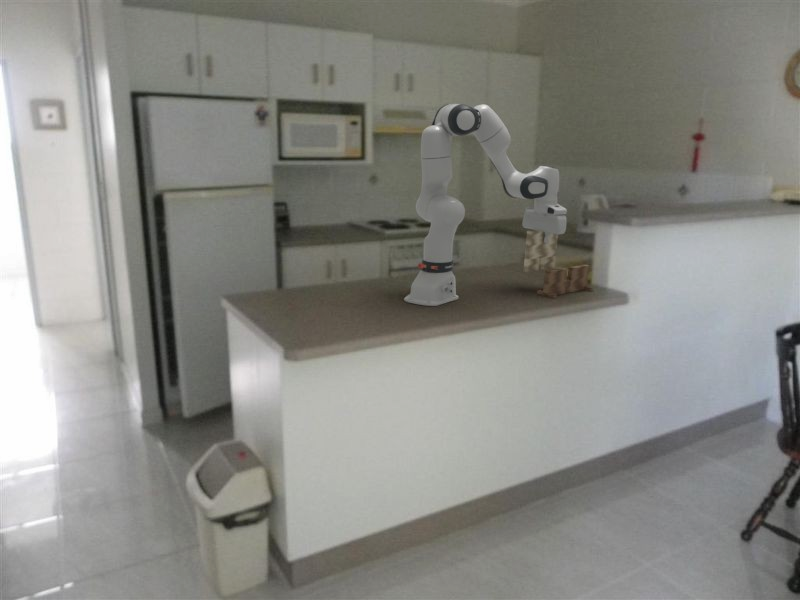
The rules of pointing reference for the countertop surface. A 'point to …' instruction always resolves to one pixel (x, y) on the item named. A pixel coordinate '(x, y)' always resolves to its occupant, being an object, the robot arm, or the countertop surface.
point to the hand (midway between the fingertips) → (541, 242)
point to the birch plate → (539, 251)
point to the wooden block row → (565, 281)
